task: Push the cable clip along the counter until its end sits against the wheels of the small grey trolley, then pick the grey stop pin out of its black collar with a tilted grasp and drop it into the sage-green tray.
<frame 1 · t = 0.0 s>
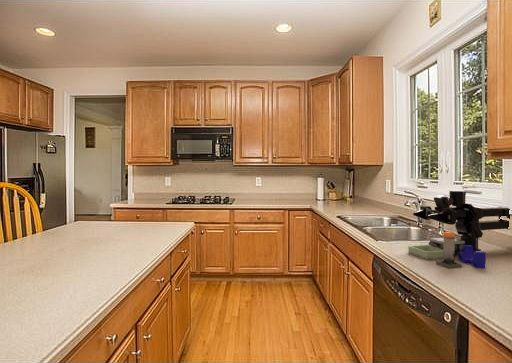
hand: (420, 215, 146), 17 cm above the countertop, tool horizontal, fingers open, 9 cm apart
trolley: (446, 253, 145), on the countertop
tray: (427, 255, 143), on the countertop
cable clip: (471, 264, 129), on the countertop
stop pin: (448, 249, 127), in the pin collar
pin collar: (448, 265, 127), on the countertop
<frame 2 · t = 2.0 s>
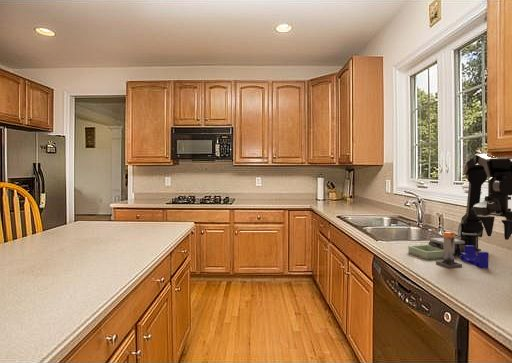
hand: (497, 237, 118), 12 cm above the countertop, tool pointing down, fingers open, 6 cm apart
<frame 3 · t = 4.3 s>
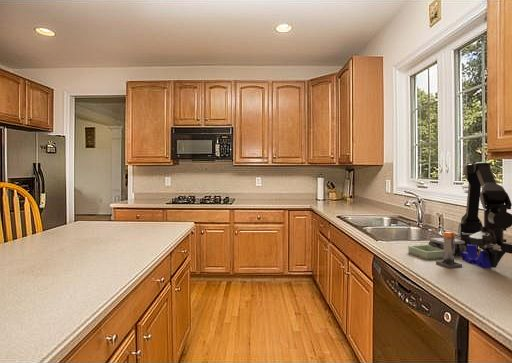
hand: (493, 267, 120), 1 cm above the countertop, tool pointing down, fingers closed
cable clip: (476, 263, 129), on the countertop, touching gripper
everything else where it was.
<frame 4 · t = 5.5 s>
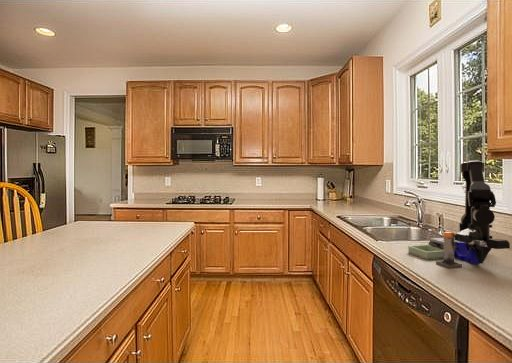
hand: (480, 263, 125), 1 cm above the countertop, tool pointing down, fingers closed
cable clip: (465, 260, 134), on the countertop, touching gripper, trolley
everything else where it was.
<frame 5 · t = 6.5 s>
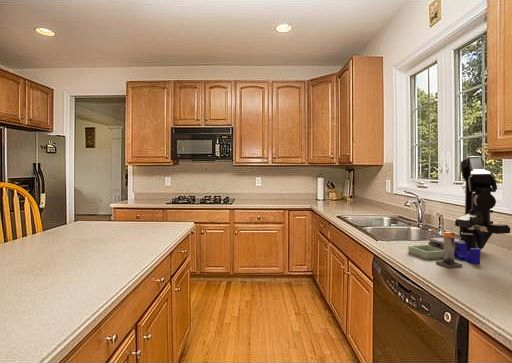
hand: (480, 248, 125), 7 cm above the countertop, tool pointing down, fingers closed
cable clip: (465, 261, 134), on the countertop
everything else where it was.
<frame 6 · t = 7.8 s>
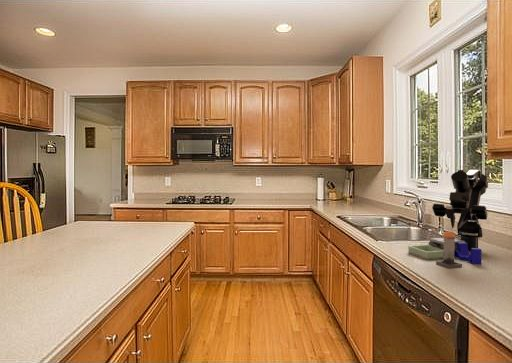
hand: (455, 227, 133), 13 cm above the countertop, tool tilted 45°, fingers closed
nothing on the countertop moved.
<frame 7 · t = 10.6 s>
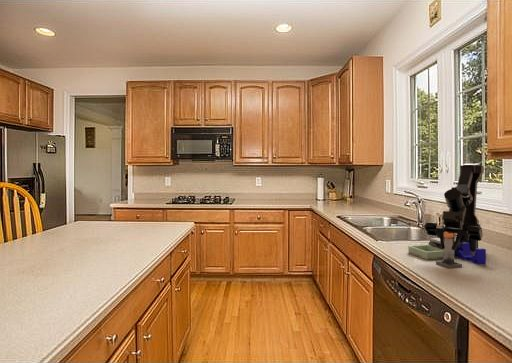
hand: (447, 248, 126), 7 cm above the countertop, tool tilted 45°, fingers closed on stop pin, 4 cm apart
cable clip: (470, 261, 134), on the countertop
stop pin: (448, 249, 127), in the pin collar, touching gripper
when the fingers open (10 cm above the countertop, at t = 13.6 s): stop pin drops 2 cm, resting on tray.
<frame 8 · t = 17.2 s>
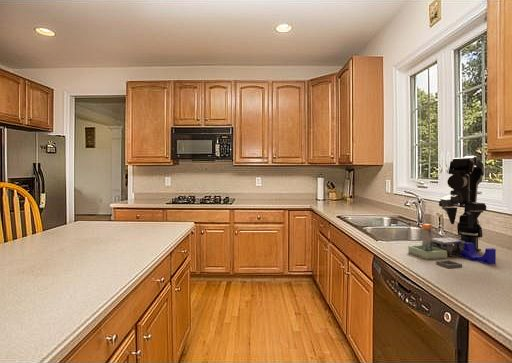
hand: (461, 225, 139), 13 cm above the countertop, tool pointing down, fingers open, 9 cm apart
cable clip: (477, 261, 134), on the countertop
stop pin: (427, 239, 142), in the tray, point 7 cm above the countertop
at the end: cable clip inside the target area (4.6 cm from its centre), on the countertop; cable clip moved 7.1 cm from its start; stop pin inside the target area on the tray (0.0 cm from its centre), point 6.9 cm above the tray's base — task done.
